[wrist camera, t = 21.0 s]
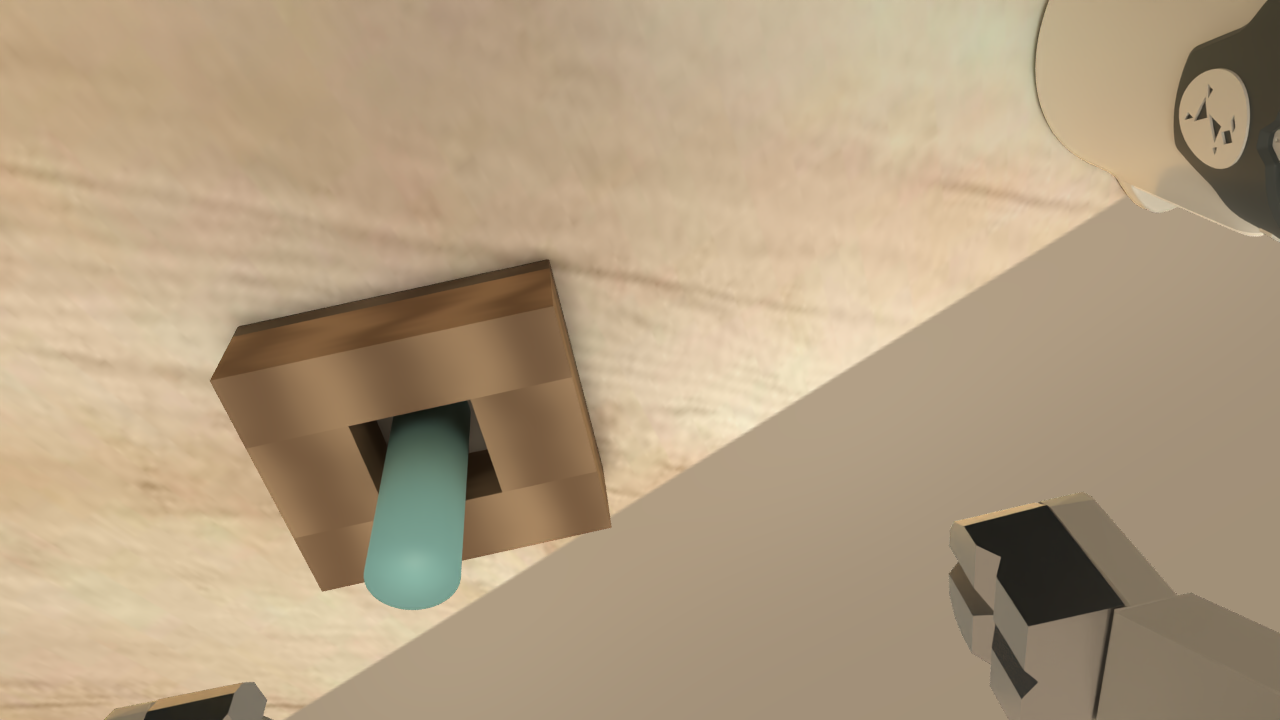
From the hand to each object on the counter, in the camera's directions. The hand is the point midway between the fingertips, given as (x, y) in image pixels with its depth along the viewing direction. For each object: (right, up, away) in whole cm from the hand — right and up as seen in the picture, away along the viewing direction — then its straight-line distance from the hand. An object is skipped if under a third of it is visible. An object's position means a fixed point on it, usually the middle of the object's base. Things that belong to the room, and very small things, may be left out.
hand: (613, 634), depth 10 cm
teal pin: (-11, 0, +37) cm, 39 cm away
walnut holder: (-11, +1, +38) cm, 40 cm away
